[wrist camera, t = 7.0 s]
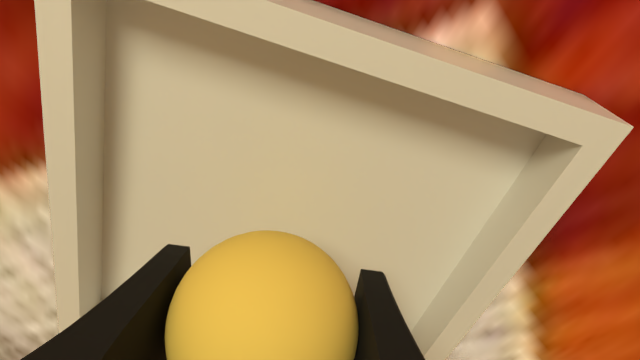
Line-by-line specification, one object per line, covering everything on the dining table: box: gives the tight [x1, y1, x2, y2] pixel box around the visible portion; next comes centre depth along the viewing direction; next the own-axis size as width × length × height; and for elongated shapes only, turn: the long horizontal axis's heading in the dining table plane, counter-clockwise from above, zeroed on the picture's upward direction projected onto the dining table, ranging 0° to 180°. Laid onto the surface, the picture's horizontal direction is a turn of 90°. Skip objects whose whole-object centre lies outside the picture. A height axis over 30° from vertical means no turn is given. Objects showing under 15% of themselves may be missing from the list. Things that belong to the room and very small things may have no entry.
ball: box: [165, 230, 359, 360], centre depth 10 cm, size 5×5×5 cm
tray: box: [34, 0, 633, 360], centre depth 13 cm, size 14×14×2 cm
